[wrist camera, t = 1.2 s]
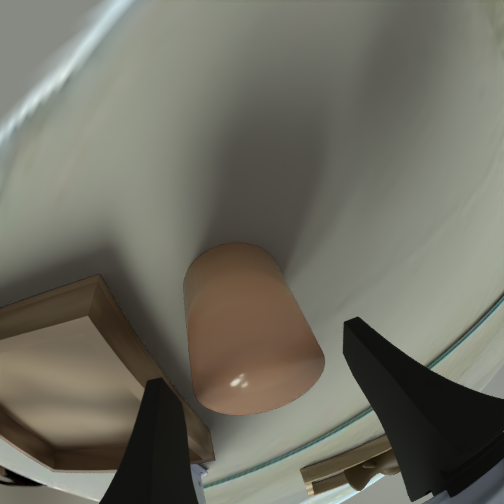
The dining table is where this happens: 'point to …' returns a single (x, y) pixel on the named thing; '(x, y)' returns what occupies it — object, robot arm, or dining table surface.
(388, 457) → the kendama
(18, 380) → the walnut tray
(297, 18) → the dining table surface
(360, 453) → the oak frame
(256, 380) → the tan rounded cylinder
